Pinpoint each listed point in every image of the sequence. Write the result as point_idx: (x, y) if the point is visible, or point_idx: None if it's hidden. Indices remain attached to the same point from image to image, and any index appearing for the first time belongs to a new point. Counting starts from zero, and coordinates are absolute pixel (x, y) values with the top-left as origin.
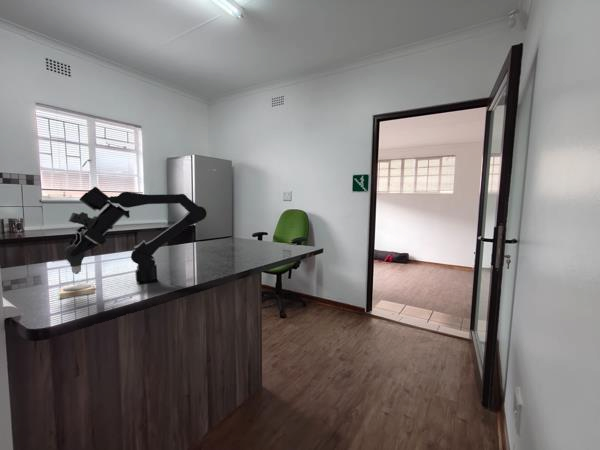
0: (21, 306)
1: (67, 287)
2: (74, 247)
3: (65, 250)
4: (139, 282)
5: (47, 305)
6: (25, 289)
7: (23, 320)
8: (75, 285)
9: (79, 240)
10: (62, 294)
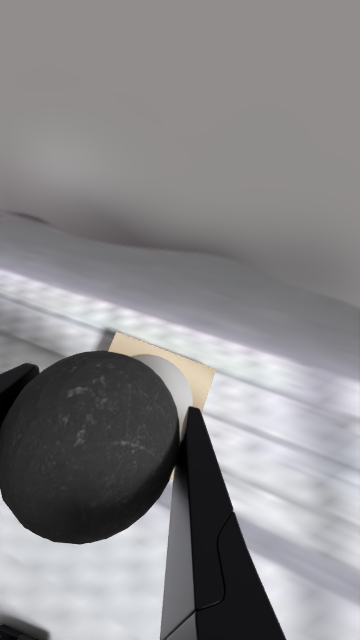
0: (140, 248)
1: (176, 378)
2: (11, 425)
3: (90, 356)
4: (7, 637)
5: (78, 287)
6: (355, 315)
7: (2, 216)
8: (182, 409)
9: (184, 635)
10: (114, 339)
